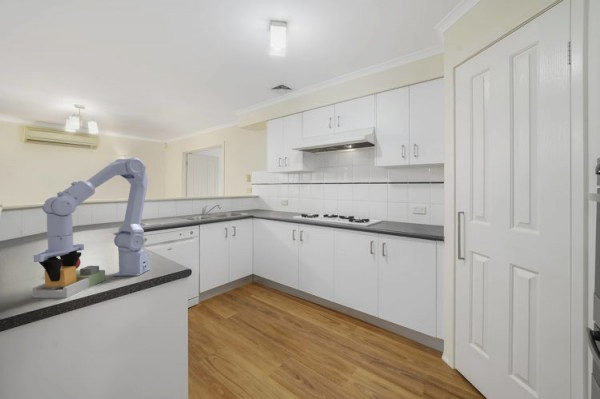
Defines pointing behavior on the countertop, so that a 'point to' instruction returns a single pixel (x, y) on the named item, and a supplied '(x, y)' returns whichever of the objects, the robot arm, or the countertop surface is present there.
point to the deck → (83, 280)
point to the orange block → (62, 277)
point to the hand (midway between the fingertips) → (62, 278)
